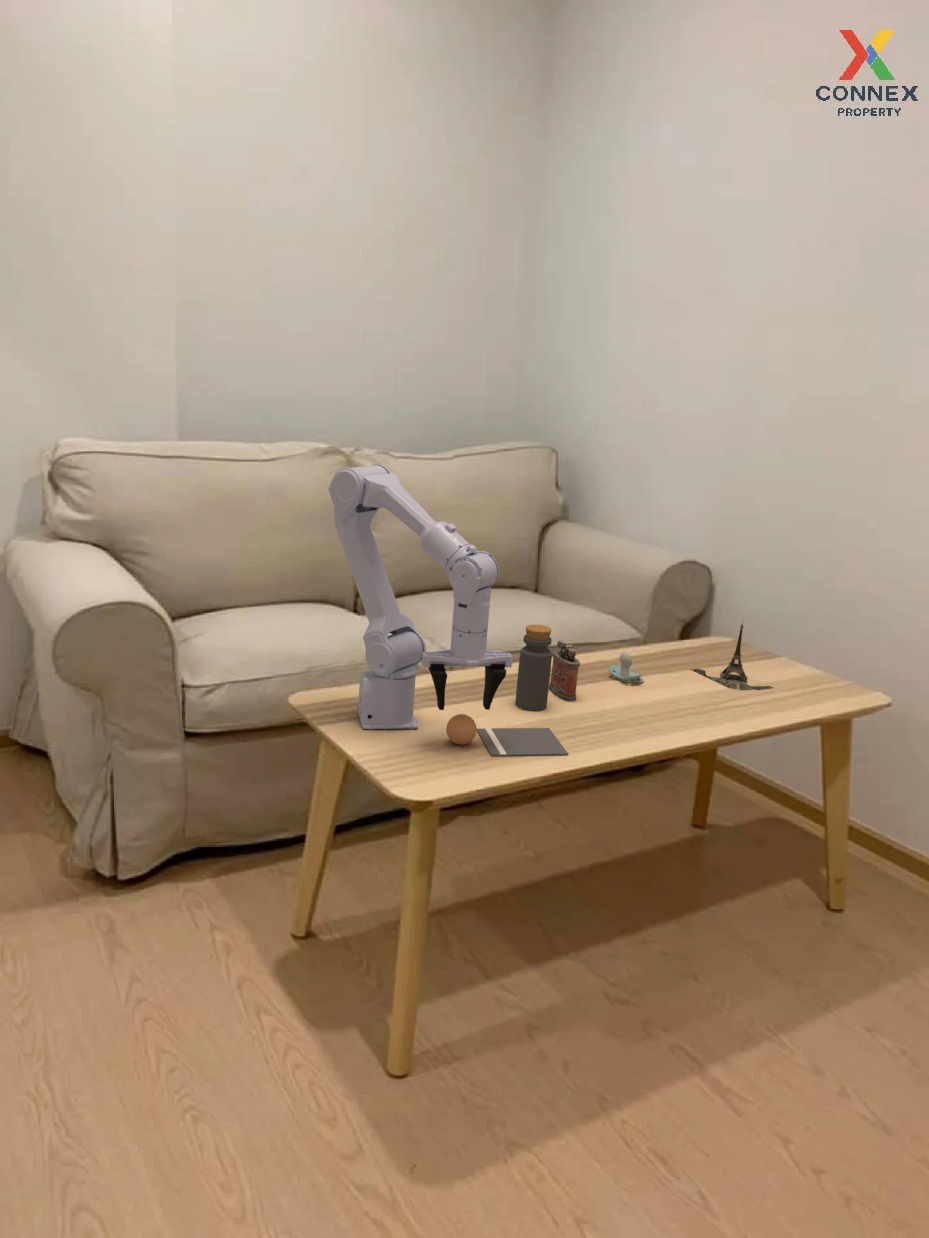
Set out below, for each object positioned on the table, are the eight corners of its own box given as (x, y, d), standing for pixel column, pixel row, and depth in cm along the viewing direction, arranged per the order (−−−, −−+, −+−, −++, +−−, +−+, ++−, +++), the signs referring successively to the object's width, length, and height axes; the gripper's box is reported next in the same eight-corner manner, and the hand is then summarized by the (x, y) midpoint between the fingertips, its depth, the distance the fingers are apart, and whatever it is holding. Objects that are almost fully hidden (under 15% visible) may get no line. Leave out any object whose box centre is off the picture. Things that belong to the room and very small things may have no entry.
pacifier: (624, 673, 211) (603, 676, 208) (628, 644, 210) (608, 647, 206) (650, 684, 206) (629, 687, 202) (655, 655, 204) (634, 657, 201)
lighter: (579, 700, 192) (585, 650, 190) (563, 701, 191) (569, 651, 188) (560, 686, 200) (565, 637, 197) (545, 687, 198) (550, 638, 196)
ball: (448, 749, 165) (450, 720, 164) (442, 737, 170) (444, 709, 169) (478, 749, 166) (480, 720, 165) (471, 737, 171) (474, 709, 170)
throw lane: (491, 756, 164) (491, 754, 164) (476, 730, 174) (476, 728, 174) (568, 755, 167) (568, 753, 167) (548, 729, 177) (549, 727, 177)
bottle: (520, 711, 184) (528, 632, 180) (510, 700, 190) (518, 623, 186) (551, 710, 186) (559, 632, 182) (540, 699, 191) (548, 623, 187)
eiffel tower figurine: (688, 671, 217) (697, 611, 213) (723, 667, 222) (732, 608, 218) (738, 695, 204) (748, 632, 201) (774, 690, 209) (785, 628, 206)
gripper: (429, 635, 157) (424, 717, 161) (520, 635, 161) (512, 716, 164) (421, 622, 164) (416, 701, 168) (508, 623, 167) (501, 700, 171)
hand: (463, 707), depth 166 cm, fingers open, 7 cm apart
